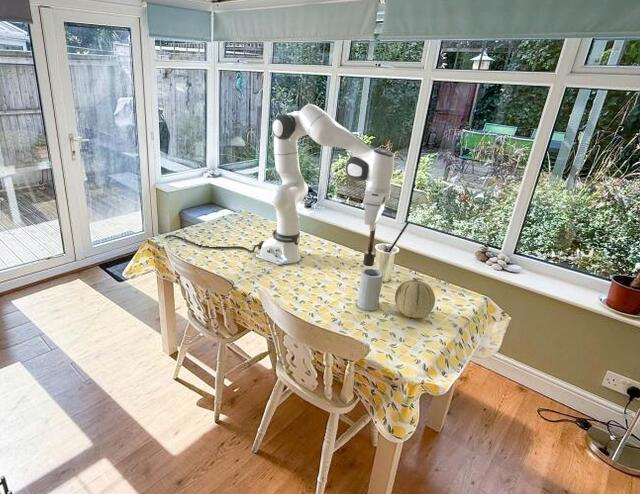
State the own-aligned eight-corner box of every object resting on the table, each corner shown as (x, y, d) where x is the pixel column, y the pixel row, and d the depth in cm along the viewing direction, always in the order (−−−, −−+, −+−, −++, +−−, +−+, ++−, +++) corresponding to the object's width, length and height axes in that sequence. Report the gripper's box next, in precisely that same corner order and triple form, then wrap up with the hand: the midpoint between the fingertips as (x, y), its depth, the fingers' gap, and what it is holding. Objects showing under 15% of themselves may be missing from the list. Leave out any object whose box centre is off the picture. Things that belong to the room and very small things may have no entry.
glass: (398, 286, 182) (409, 223, 170) (371, 283, 184) (381, 220, 172) (395, 274, 192) (405, 214, 180) (370, 272, 194) (378, 212, 182)
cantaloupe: (410, 329, 152) (417, 294, 146) (384, 309, 165) (389, 276, 159) (440, 320, 158) (448, 286, 152) (412, 301, 170) (418, 269, 164)
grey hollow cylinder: (355, 307, 166) (359, 274, 160) (359, 298, 172) (363, 266, 167) (375, 312, 162) (380, 279, 156) (379, 302, 169) (384, 270, 163)
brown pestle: (362, 265, 161) (368, 217, 154) (364, 261, 165) (370, 214, 157) (372, 267, 160) (379, 219, 152) (374, 263, 163) (381, 215, 155)
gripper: (374, 185, 161) (370, 219, 166) (362, 199, 144) (358, 236, 149) (390, 188, 158) (386, 221, 164) (381, 202, 142) (376, 239, 147)
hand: (372, 228), depth 156 cm, fingers closed on brown pestle, 2 cm apart
